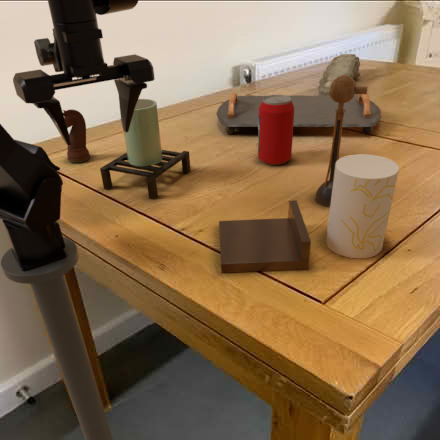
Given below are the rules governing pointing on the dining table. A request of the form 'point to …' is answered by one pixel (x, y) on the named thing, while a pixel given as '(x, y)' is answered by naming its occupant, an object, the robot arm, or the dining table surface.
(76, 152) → the chess piece
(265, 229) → the shelf
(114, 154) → the dining table surface
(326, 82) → the elongated rock
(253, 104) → the serving tray
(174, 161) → the rack
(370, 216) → the white patterned canister
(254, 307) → the dining table surface
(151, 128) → the green cup
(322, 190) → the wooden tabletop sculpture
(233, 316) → the dining table surface
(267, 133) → the beverage can
